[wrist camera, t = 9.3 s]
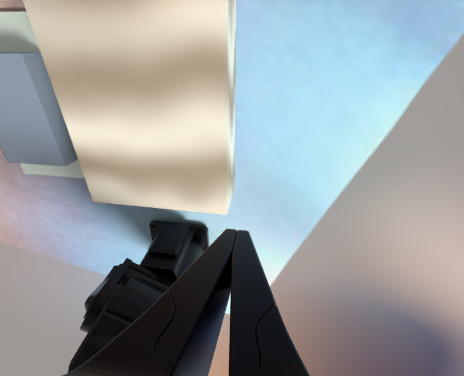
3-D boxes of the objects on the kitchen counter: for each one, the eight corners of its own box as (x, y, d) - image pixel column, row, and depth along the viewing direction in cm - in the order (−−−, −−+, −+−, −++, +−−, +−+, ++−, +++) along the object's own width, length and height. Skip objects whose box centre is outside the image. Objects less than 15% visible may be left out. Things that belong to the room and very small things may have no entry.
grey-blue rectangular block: (8, 162, 23) (26, 153, 25) (65, 166, 22) (80, 157, 24) (-49, 53, 18) (-22, 51, 20) (21, 53, 18) (43, 52, 19)
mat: (113, 179, 25) (111, 180, 25) (26, 172, 27) (24, 173, 26) (65, 11, 18) (62, 11, 18) (-51, 12, 19) (-55, 12, 19)
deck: (234, 189, 24) (227, 214, 20) (117, 179, 25) (93, 201, 22) (237, -128, 13) (223, -184, 10) (38, -112, 15) (-33, -156, 11)
